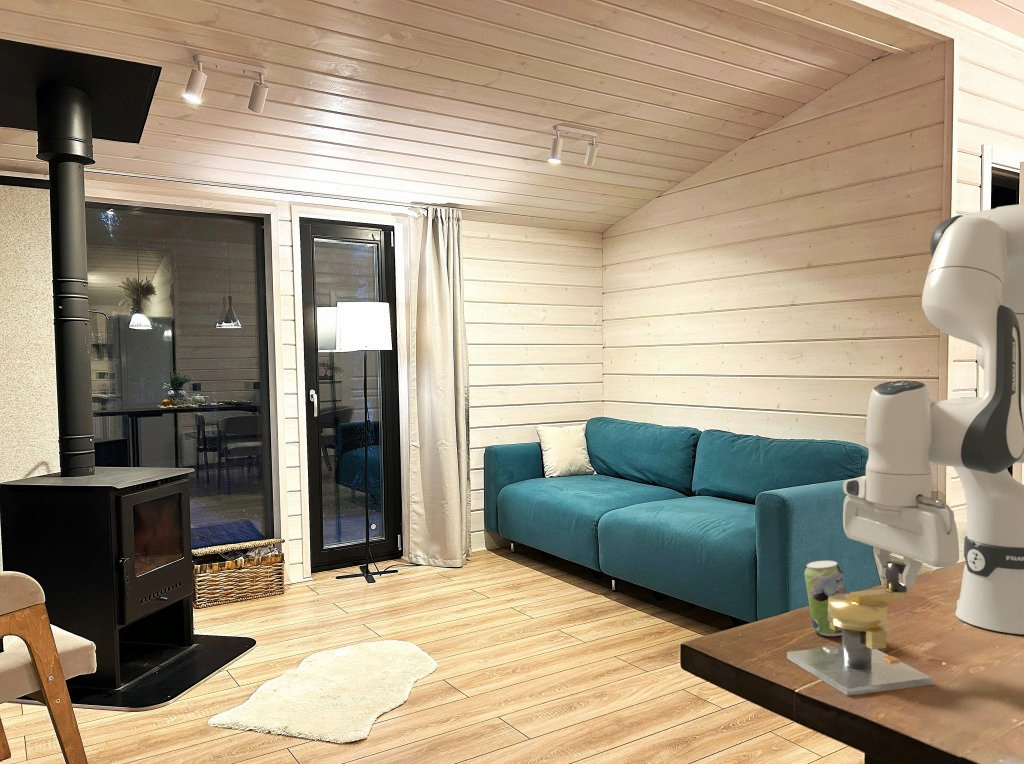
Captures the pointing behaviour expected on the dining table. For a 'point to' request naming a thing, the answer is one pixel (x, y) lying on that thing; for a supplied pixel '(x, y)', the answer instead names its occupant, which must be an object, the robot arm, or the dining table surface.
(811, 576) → the beverage can
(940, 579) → the dining table surface
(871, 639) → the brass crank handle
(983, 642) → the dining table surface
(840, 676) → the post plate
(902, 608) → the dining table surface
